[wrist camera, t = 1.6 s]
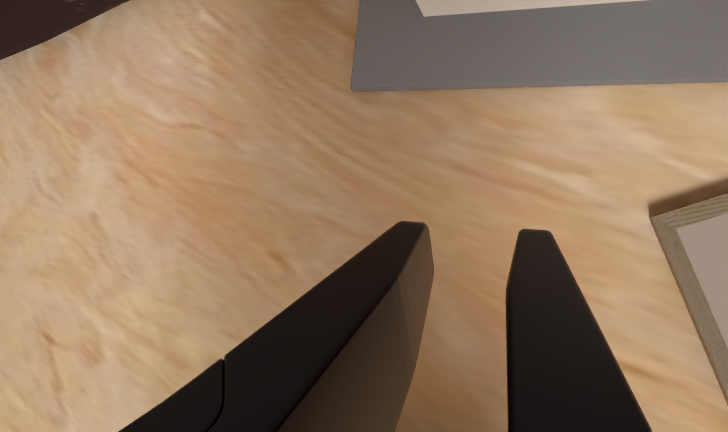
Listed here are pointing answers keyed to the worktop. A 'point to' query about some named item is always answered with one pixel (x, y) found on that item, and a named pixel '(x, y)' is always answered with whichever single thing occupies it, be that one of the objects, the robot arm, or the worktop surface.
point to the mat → (540, 46)
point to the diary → (43, 20)
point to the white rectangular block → (496, 5)
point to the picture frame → (701, 272)
